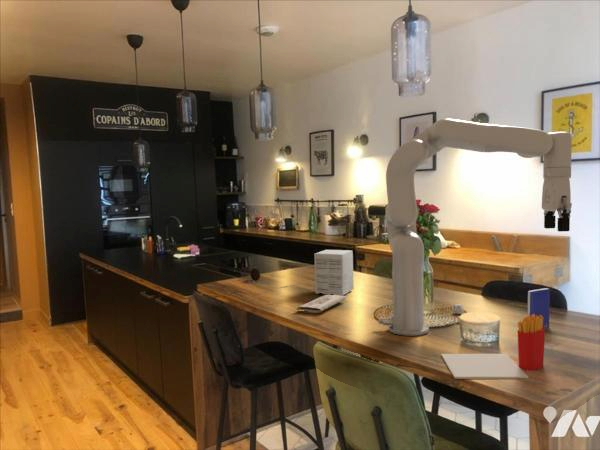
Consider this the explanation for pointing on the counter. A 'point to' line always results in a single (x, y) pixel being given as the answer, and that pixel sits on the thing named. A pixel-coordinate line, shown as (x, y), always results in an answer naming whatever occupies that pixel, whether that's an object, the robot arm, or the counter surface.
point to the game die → (457, 309)
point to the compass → (253, 276)
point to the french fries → (531, 342)
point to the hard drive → (539, 304)
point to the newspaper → (322, 303)
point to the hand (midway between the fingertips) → (556, 229)
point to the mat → (483, 366)
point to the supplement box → (334, 272)
